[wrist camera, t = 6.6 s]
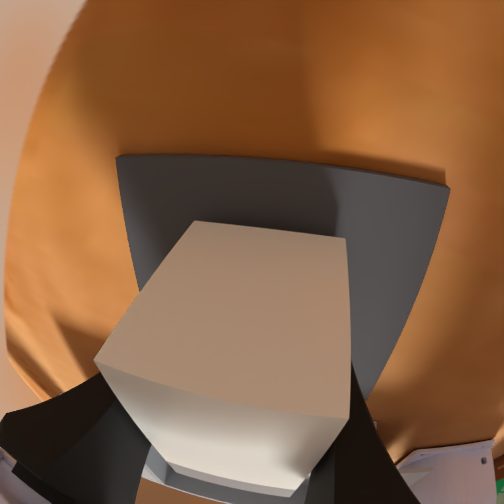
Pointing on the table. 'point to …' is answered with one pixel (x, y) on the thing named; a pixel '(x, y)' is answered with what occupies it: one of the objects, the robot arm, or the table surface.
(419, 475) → the grey rimmed tray
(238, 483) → the capped box
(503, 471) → the food container
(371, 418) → the robot arm
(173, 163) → the mat
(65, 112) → the table surface
